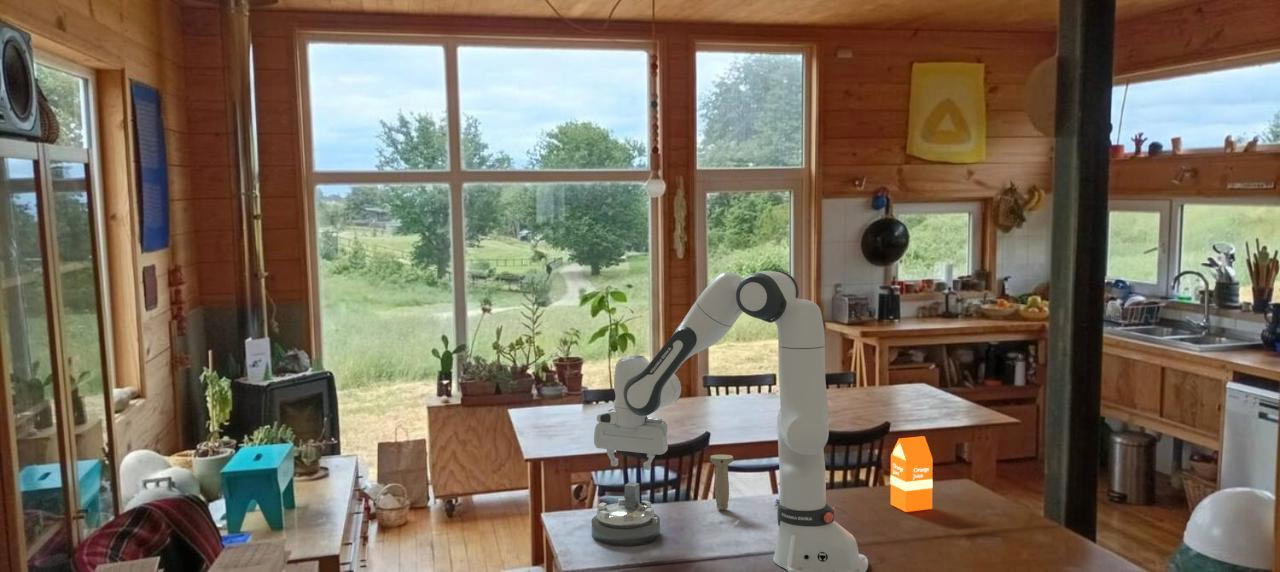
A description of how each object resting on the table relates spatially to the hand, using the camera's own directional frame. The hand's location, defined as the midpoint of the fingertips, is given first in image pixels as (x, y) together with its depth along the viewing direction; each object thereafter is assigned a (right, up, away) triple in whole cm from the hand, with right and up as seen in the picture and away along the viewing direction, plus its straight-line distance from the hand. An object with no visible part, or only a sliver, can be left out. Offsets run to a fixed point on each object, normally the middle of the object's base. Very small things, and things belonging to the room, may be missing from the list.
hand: (630, 467), depth 243 cm
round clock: (-1, -13, -3) cm, 13 cm away
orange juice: (+80, -15, +17) cm, 83 cm away
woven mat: (+48, -16, +20) cm, 54 cm away
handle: (+26, -16, +18) cm, 35 cm away
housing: (-1, -17, -3) cm, 17 cm away
